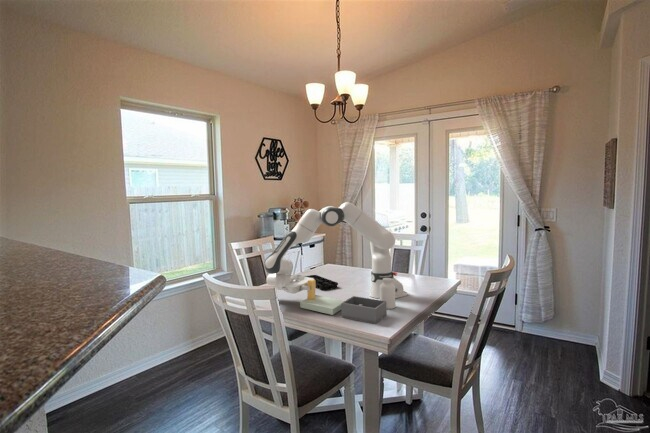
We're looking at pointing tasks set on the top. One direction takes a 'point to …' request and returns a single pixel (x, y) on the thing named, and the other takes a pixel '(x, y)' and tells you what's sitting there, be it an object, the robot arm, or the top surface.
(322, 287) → the black compartment tray
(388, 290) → the pill bottle
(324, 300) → the lid
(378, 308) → the tub
